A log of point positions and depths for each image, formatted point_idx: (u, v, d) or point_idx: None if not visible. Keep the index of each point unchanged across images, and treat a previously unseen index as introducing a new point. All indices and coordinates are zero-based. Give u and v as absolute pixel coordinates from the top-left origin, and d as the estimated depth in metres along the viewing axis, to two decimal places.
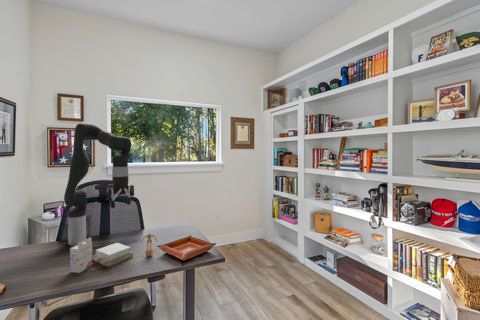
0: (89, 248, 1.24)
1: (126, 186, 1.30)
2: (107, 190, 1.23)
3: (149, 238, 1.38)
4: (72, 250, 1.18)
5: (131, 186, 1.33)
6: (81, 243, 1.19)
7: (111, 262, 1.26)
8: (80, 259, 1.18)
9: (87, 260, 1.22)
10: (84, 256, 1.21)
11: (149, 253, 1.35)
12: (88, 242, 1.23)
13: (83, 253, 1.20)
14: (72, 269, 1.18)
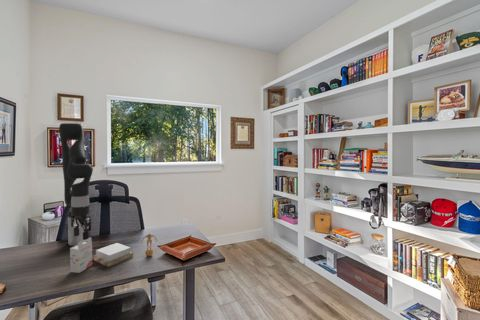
0: (89, 248, 1.24)
1: None
2: (87, 221, 1.17)
3: (149, 238, 1.38)
4: (72, 250, 1.18)
5: None
6: (81, 243, 1.19)
7: (111, 262, 1.26)
8: (80, 259, 1.18)
9: (87, 260, 1.22)
10: (84, 256, 1.21)
11: (149, 253, 1.35)
12: (88, 242, 1.23)
13: (83, 253, 1.20)
14: (72, 269, 1.18)
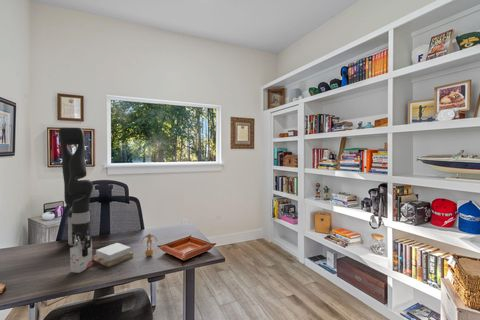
0: (89, 248, 1.24)
1: None
2: (88, 239, 1.18)
3: (149, 238, 1.38)
4: (72, 250, 1.18)
5: None
6: None
7: (111, 262, 1.26)
8: (80, 259, 1.18)
9: (87, 260, 1.22)
10: None
11: (149, 253, 1.35)
12: None
13: None
14: (72, 269, 1.18)
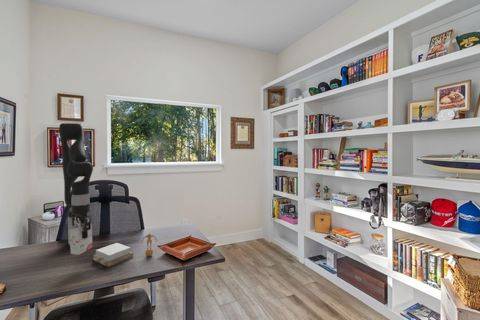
0: (89, 231, 1.23)
1: None
2: (88, 221, 1.17)
3: (149, 238, 1.38)
4: (72, 232, 1.17)
5: None
6: None
7: (111, 262, 1.26)
8: (80, 240, 1.18)
9: (87, 243, 1.22)
10: None
11: (149, 253, 1.35)
12: None
13: None
14: (72, 251, 1.18)
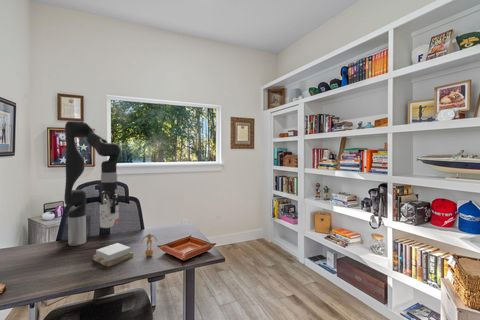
0: (116, 207, 1.33)
1: None
2: (116, 196, 1.27)
3: (149, 238, 1.38)
4: (101, 207, 1.27)
5: None
6: None
7: (111, 262, 1.26)
8: (108, 215, 1.28)
9: (114, 218, 1.32)
10: None
11: (149, 253, 1.35)
12: None
13: None
14: (101, 224, 1.28)
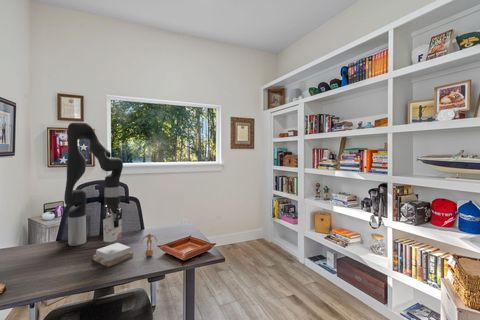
0: (119, 221, 1.35)
1: None
2: (119, 211, 1.29)
3: (149, 238, 1.38)
4: (105, 221, 1.29)
5: None
6: None
7: (111, 262, 1.26)
8: (112, 229, 1.29)
9: (118, 231, 1.34)
10: None
11: (149, 253, 1.35)
12: None
13: None
14: (105, 239, 1.29)
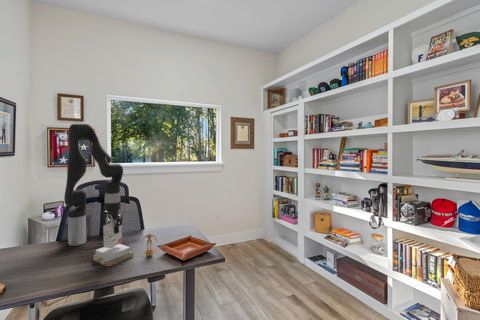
0: (120, 227, 1.35)
1: None
2: (120, 217, 1.29)
3: (149, 238, 1.38)
4: (105, 227, 1.29)
5: None
6: None
7: (111, 262, 1.26)
8: (112, 235, 1.30)
9: (118, 237, 1.34)
10: None
11: (149, 253, 1.35)
12: None
13: None
14: (105, 244, 1.30)
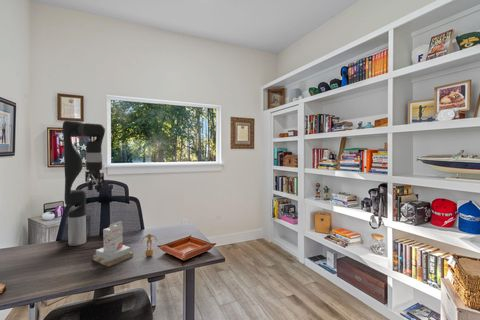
0: (120, 231, 1.35)
1: None
2: (101, 174, 1.30)
3: (149, 238, 1.38)
4: (105, 231, 1.29)
5: None
6: (112, 225, 1.30)
7: (111, 262, 1.26)
8: (111, 239, 1.29)
9: (118, 241, 1.34)
10: (115, 237, 1.32)
11: (149, 253, 1.35)
12: (119, 225, 1.34)
13: (114, 234, 1.31)
14: (105, 248, 1.30)
